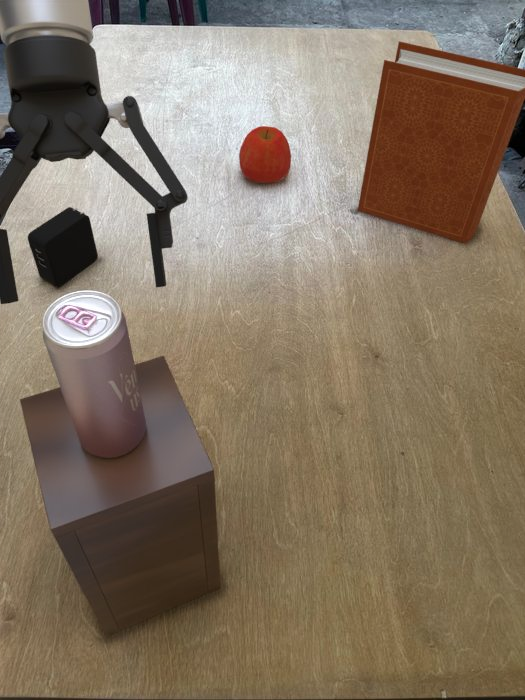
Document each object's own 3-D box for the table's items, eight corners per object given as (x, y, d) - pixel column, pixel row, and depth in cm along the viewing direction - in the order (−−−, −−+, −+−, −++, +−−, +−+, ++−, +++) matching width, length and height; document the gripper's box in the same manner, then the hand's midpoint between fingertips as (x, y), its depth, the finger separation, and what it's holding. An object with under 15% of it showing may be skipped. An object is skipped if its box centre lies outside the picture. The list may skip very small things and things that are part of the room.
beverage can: (105, 396, 58) (73, 278, 47) (159, 420, 57) (140, 304, 46) (65, 444, 55) (20, 329, 44) (122, 472, 53) (91, 360, 42)
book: (357, 210, 125) (384, 60, 102) (370, 189, 130) (399, 41, 107) (470, 245, 119) (525, 93, 96) (480, 221, 124) (534, 71, 101)
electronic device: (40, 279, 109) (25, 234, 101) (82, 249, 114) (71, 204, 107) (57, 289, 107) (43, 244, 100) (98, 259, 113) (89, 213, 105)
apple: (250, 195, 127) (251, 148, 119) (230, 167, 133) (230, 121, 125) (298, 184, 130) (302, 137, 122) (276, 157, 136) (278, 111, 128)
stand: (77, 529, 79) (19, 398, 58) (182, 490, 83) (163, 355, 62) (106, 636, 71) (50, 529, 50) (220, 587, 75) (214, 469, 54)
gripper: (196, 49, 58) (222, 278, 61) (-82, 71, 56) (-39, 306, 59) (194, 18, 50) (224, 281, 54) (-125, 43, 49) (-74, 313, 52)
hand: (86, 294), depth 57 cm, fingers open, 13 cm apart
